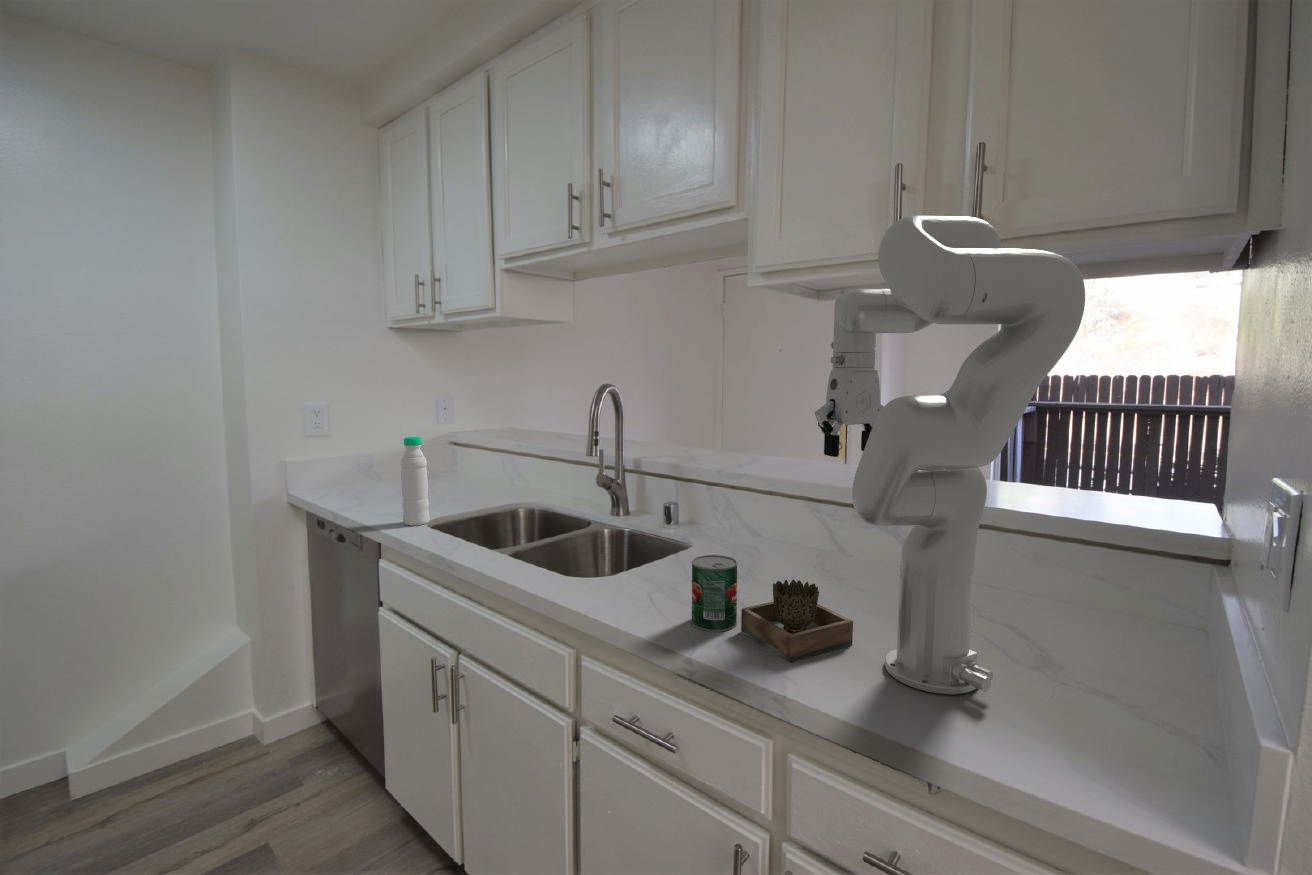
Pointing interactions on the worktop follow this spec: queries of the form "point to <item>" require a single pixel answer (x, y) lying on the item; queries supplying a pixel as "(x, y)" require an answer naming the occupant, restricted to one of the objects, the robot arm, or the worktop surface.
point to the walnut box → (816, 639)
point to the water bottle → (414, 483)
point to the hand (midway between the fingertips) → (850, 453)
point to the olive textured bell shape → (795, 604)
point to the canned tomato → (714, 593)
